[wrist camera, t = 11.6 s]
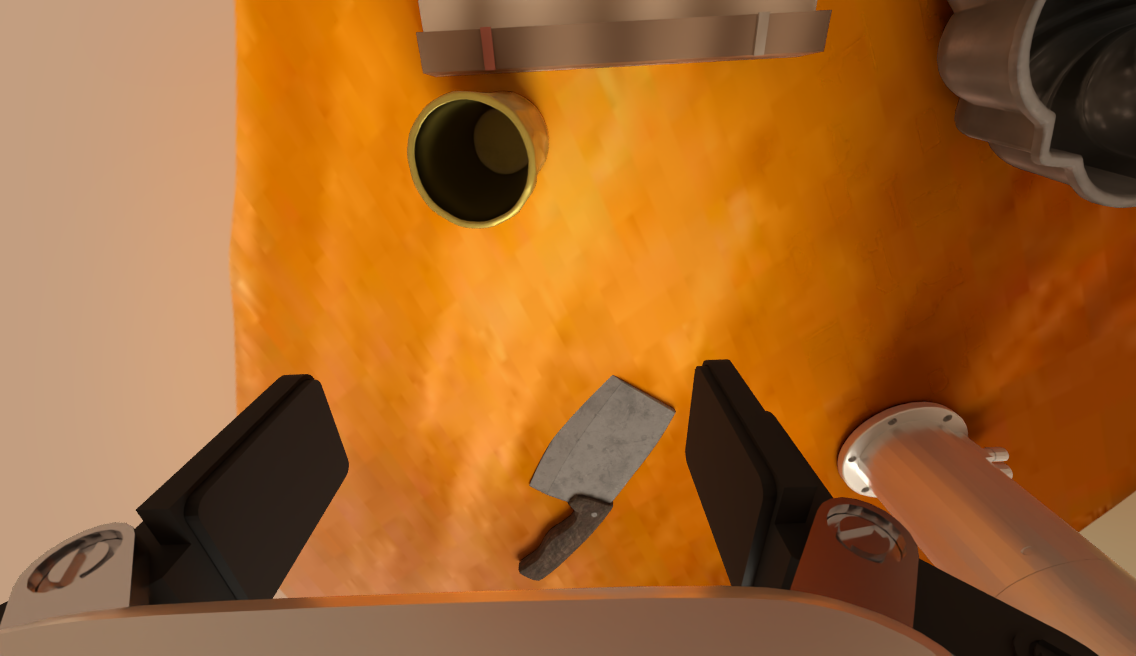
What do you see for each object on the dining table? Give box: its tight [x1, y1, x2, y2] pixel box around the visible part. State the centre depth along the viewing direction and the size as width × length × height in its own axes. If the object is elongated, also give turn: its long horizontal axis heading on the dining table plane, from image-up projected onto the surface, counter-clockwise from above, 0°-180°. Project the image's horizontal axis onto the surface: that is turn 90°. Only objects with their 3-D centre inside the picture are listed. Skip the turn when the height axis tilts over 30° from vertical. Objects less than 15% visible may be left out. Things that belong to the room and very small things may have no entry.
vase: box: [407, 91, 549, 228], centre depth 23 cm, size 6×6×14 cm
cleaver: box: [519, 375, 676, 581], centre depth 45 cm, size 29×10×2 cm, turn 154°
